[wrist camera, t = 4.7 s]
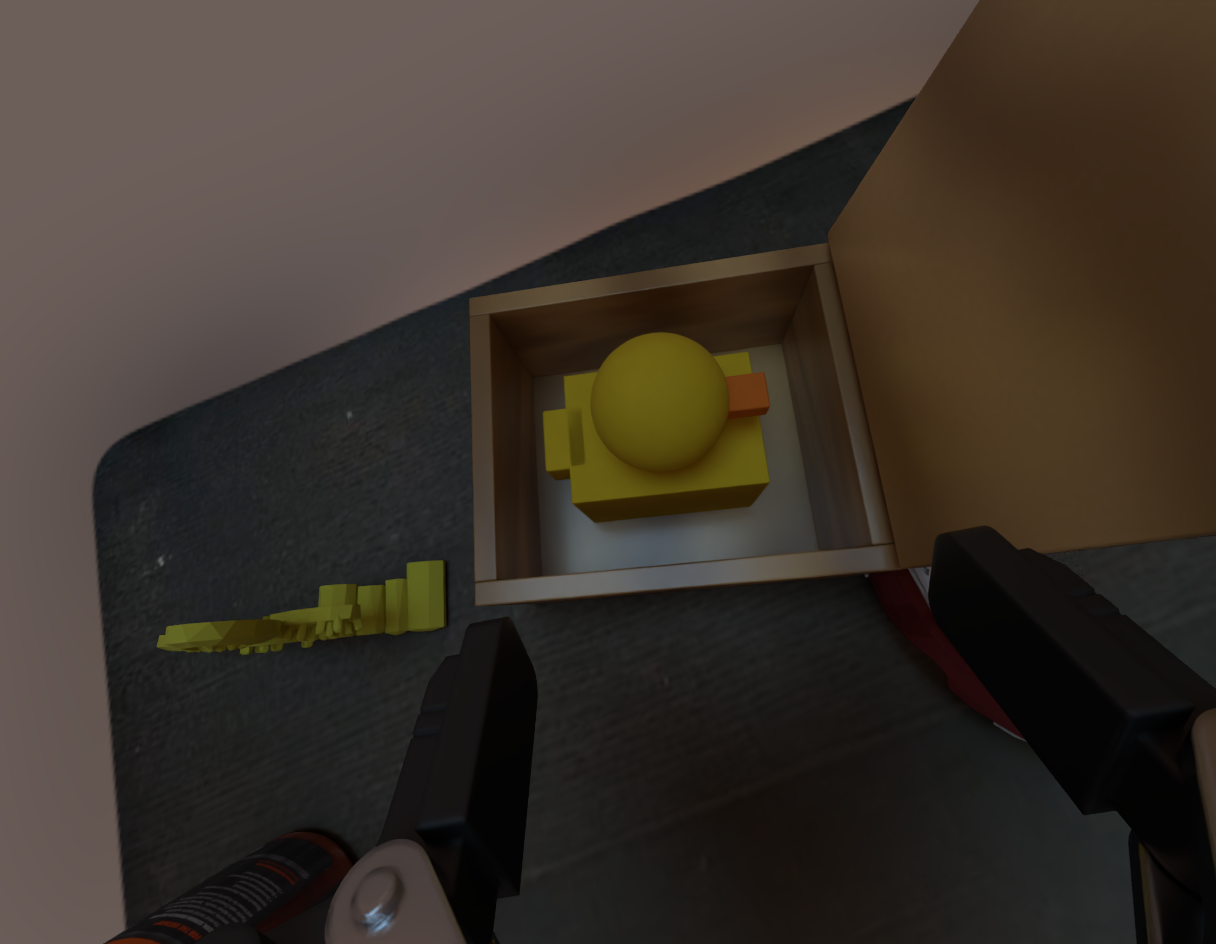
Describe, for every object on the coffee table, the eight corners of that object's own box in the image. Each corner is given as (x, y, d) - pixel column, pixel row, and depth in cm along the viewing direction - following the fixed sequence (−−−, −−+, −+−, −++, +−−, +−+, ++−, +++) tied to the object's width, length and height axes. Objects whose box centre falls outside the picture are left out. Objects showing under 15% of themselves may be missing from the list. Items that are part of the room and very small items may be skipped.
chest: (531, 603, 24) (474, 606, 17) (520, 371, 26) (469, 298, 20) (838, 577, 22) (905, 569, 16) (792, 334, 25) (832, 241, 18)
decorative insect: (388, 636, 29) (154, 662, 23) (388, 578, 30) (162, 587, 24) (501, 628, 20) (162, 669, 14) (497, 544, 21) (176, 544, 14)
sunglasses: (757, 502, 23) (797, 462, 18) (1004, 318, 26) (1092, 245, 22) (1075, 880, 18) (1239, 958, 14) (1324, 598, 22) (1523, 583, 17)
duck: (574, 524, 23) (506, 478, 14) (567, 421, 25) (501, 317, 15) (751, 506, 23) (800, 445, 13) (734, 400, 24) (769, 277, 15)
